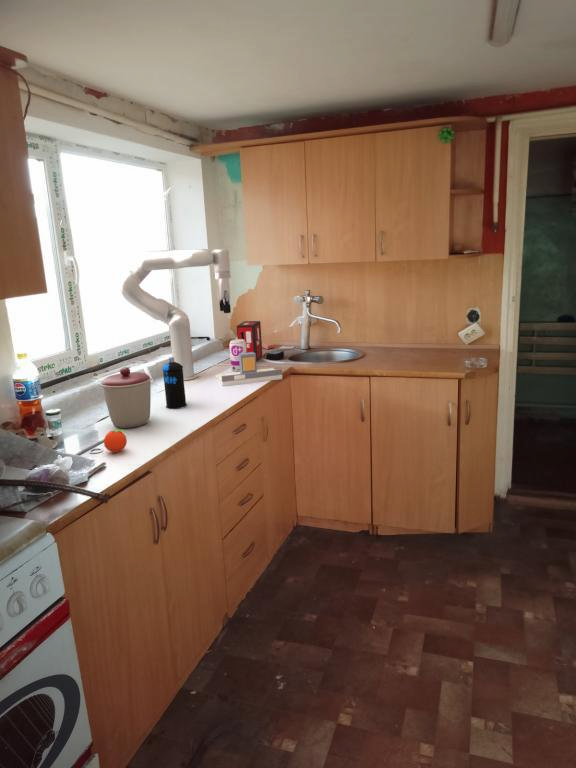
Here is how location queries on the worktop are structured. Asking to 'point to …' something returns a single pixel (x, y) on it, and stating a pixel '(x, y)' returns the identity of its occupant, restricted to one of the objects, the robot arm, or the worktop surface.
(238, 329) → the cleaning product box
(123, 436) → the clementine
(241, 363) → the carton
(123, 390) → the canister
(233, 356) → the supplement can
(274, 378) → the shelf board
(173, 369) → the aerosol can
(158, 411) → the worktop surface
